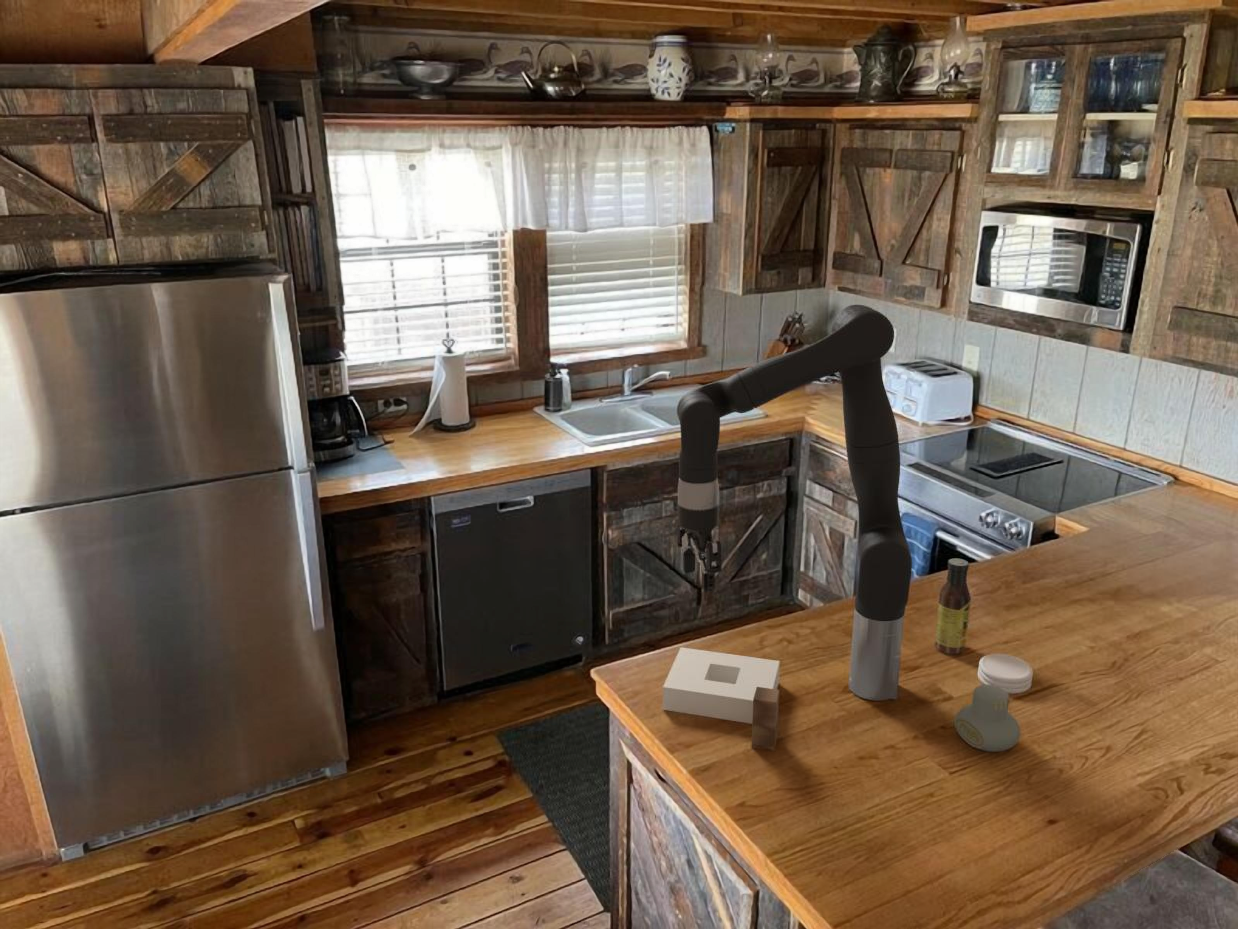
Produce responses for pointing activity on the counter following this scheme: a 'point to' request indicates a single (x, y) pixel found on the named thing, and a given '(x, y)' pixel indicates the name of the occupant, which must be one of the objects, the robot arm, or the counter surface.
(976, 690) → the air freshener
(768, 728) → the peg
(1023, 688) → the coaster
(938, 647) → the sauce bottle
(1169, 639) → the counter surface
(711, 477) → the robot arm
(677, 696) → the socket board
